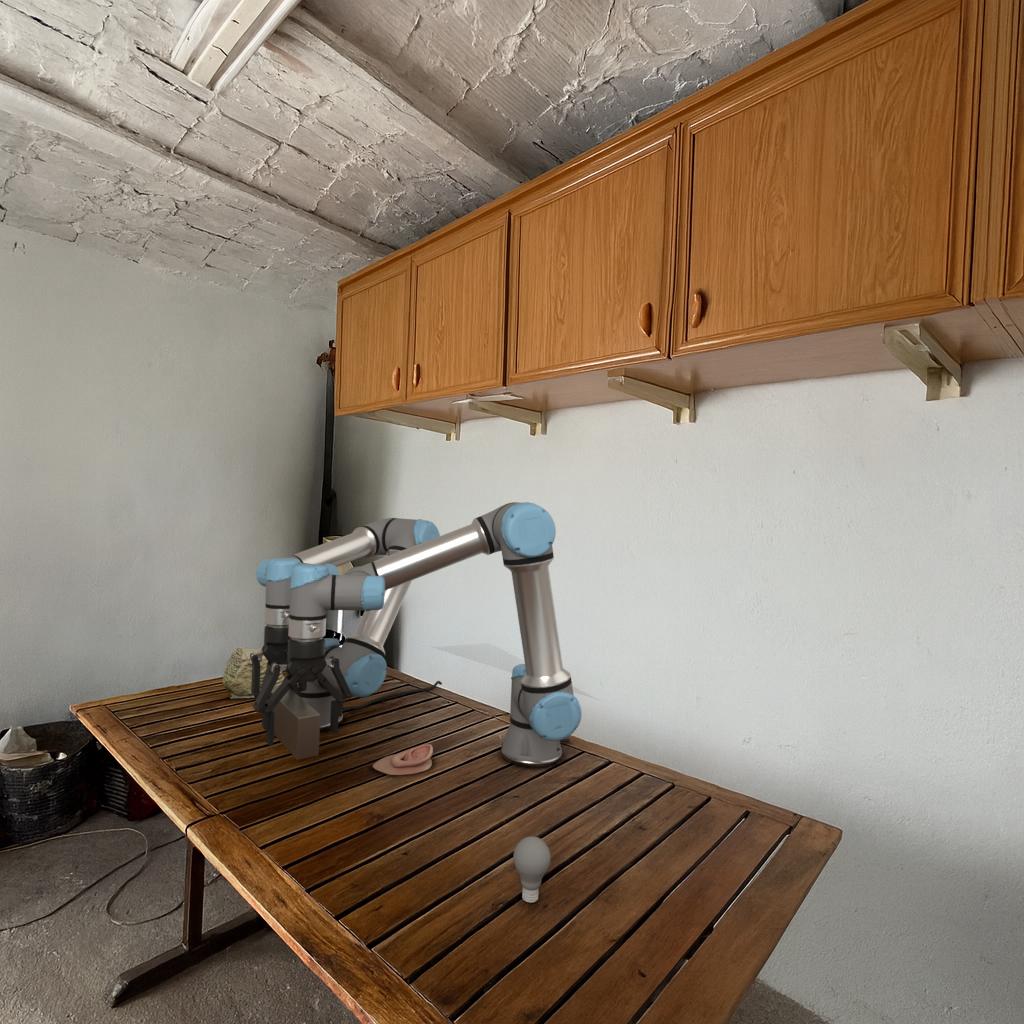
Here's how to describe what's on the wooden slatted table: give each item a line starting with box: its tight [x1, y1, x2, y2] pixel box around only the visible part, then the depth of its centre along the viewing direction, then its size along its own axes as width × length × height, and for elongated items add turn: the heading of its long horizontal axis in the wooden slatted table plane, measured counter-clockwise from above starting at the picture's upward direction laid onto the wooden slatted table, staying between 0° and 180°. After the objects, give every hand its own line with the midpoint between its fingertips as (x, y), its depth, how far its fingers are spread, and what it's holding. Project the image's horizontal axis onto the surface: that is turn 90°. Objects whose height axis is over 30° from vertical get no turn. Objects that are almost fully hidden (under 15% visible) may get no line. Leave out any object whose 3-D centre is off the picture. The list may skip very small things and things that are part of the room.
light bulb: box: [512, 836, 552, 904], centre depth 102 cm, size 6×6×10 cm
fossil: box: [222, 646, 286, 699], centre depth 198 cm, size 9×18×15 cm, turn 132°
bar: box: [269, 685, 321, 761], centre depth 141 cm, size 24×5×9 cm, turn 36°
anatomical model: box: [372, 743, 434, 776], centre depth 151 cm, size 13×4×12 cm
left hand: (278, 723), depth 149 cm, fingers closed on bar, 5 cm apart
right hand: (302, 737), depth 134 cm, fingers open, 13 cm apart
